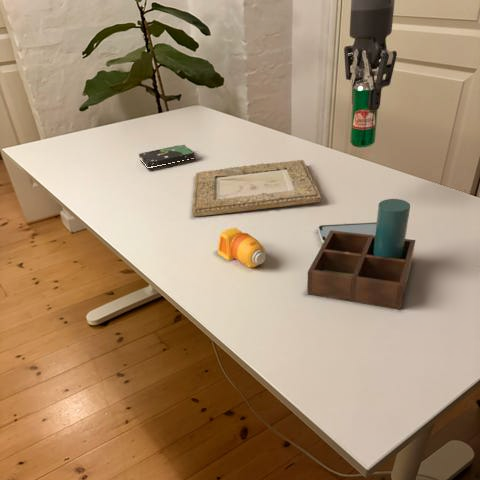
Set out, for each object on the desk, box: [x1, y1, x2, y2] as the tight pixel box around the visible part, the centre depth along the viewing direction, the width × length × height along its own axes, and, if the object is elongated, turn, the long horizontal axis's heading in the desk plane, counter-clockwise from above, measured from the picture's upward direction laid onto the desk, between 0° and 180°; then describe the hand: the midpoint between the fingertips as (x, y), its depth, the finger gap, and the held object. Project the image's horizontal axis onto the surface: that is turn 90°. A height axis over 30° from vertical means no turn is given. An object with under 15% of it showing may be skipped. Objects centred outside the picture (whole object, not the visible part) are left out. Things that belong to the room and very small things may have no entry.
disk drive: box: [138, 144, 196, 171], centre depth 140 cm, size 10×3×15 cm
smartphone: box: [317, 221, 377, 244], centre depth 94 cm, size 7×1×15 cm
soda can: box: [349, 78, 379, 148], centre depth 94 cm, size 5×5×12 cm
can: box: [373, 198, 411, 259], centre depth 80 cm, size 5×5×12 cm
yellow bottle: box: [217, 227, 266, 268], centre depth 89 cm, size 5×6×12 cm
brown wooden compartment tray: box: [306, 230, 416, 310], centre depth 81 cm, size 15×15×5 cm
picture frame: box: [191, 159, 322, 218], centre depth 117 cm, size 27×30×3 cm
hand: (365, 106), depth 93 cm, fingers closed on soda can, 5 cm apart
